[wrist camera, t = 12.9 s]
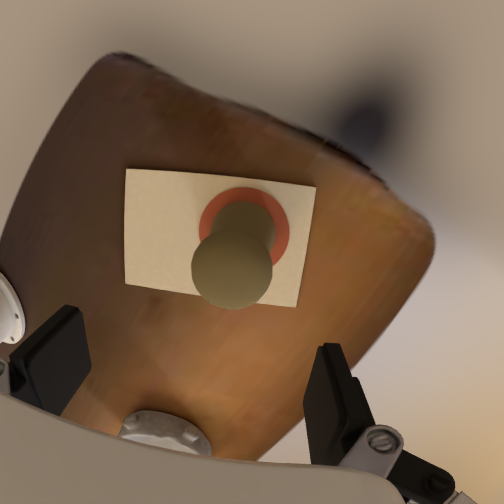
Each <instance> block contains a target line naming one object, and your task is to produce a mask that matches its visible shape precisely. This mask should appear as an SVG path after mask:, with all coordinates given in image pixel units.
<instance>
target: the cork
mask: <svg viewBox="0 0 504 504" xmlns="http://www.w3.org/2000/svg"><path fill="white" fill-rule="evenodd" d="M275 239H276V228H275V225H274V221H273V219H272V217H271V216H270V215H269V213H268V212H267V211H266V210H265V209H264V208H262V207H261V206H260V205H258V204H255V203H252V202H249V201H237V202H233V203H230V204H228V205H226V206H225V207H223V208H222V209H221V210H219V212H218V213H217V215H216V216H215V217H214V219H213V222H212V226H211V229H210V234H209V236H207V237H206V238H205V239H203V240H202V242H201V243H200V244H199V246H198V247H197V249H196V250H195V251H194V254H193V258H192V262H191V274H192V280H193V283H194V285H195V288H196V290H197V291H198V292H199V293H200V295H201V296H202V297H203V298H204V299H205V300H207V301H208V302H210V303H211V304H213V305H214V306H217V307H221V308H224V309H241V308H245V307H249V306H250V305H252V304H254V303H255V302H257V301H259V299H260V298H261V297H262V296H263V295H264V294H265V292H266V291H267V290H268V288H269V285H270V283H271V280H272V273H273V263H272V259H271V256H270V252H271V250H272V247H273V245H274V242H275Z"/></svg>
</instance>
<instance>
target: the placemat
mask: <svg viewBox="0 0 504 504" xmlns="http://www.w3.org/2000/svg"><path fill="white" fill-rule="evenodd" d="M315 193H316V187H310V186H304V185H297V184H290V183H282V182H275V181H267V180H259V179H250V178H241V177H232V176H222V175H212V174H201V173H189V172H176V171H161V170H145V169H126V185H125V218H124V249H125V282H126V284H132V285H138V286H144V287H150V288H156V289H162V290H168V291H175V292H181V293H188V294H195V295H200V293H199V292H198V291H197V290H196V288H195V285H194V283H193V280H192V274H191V262H192V258H193V254H194V251H195V250H196V249H197V247H198V246H199V244H200V243H201V242H202V240H203V239H205V238H206V237H207V236H209V234H210V229H211V226H212V222H213V219H214V217H215V216H216V215H217V213H218V212H219V210H221V209H222V208H223V207H225V206H226V205H228V204H230V203H233V202H237V201H249V202H252V203H255V204H258V205H260V206H261V207H262V208H264V209H265V210H266V211H267V212H268V213H269V215H270V216H271V217H272V219H273V221H274V225H275V228H276V239H275V242H274V245H273V247H272V250H271V252H270V256H271V259H272V263H273V273H272V280H271V283H270V285H269V288H268V290H267V291H266V292H265V294H264V295H263V296H262V297H261V298H260V299H259V301H257V302H255V303H262V304H271V305H279V306H288V307H296V304H297V299H298V293H299V288H300V283H301V277H302V272H303V266H304V261H305V255H306V249H307V243H308V237H309V231H310V225H311V219H312V213H313V206H314V200H315Z"/></svg>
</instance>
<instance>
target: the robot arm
mask: <svg viewBox="0 0 504 504" xmlns="http://www.w3.org/2000/svg"><path fill="white" fill-rule="evenodd" d="M24 332H25V318H24V313H23V310H22V306H21V304H20V301H19V299H18V296H17V295H16V293H15V291H14V289H13V287H12V286H11V284H10V283H9V281H8V280H7V279H6V278H5V276H4V275H3V274H2V273H1V272H0V343H1V342H2V341H4V342H6V343H11V344H13V343H16V342H18V341H19V340H20V339H21V338H22V337H23V335H24ZM9 357H10V360H11V361H10V362H9V363H8V362H7V361H6V360H4V359H3V358H0V504H477V503H476V502H475V501H473V500H472V499H471V498H470V497H468V496H467V495H466V494H465V493H464V492H462V491H461V492H460V493H458V492H456V491H455V481H454V479H453V477H452V476H451V475H450V474H449V473H448V472H447V471H445V470H443V469H441V468H439V467H437V466H435V465H433V464H430V463H429V462H427V461H425V460H423V459H421V458H419V457H417V456H415V455H412V454H411V453H409V452H407V451H405V450H403V445H404V442H403V438H402V436H401V434H400V433H399V432H398V431H397V430H395V429H394V428H392V427H389V426H387V425H376V424H375V421H374V418H373V416H372V413H371V411H370V408H369V405H368V402H367V400H366V397H365V394H364V392H363V389H362V387H361V384H360V381H359V380H358V378H357V377H352V375H351V372H350V370H349V367H348V364H347V361H346V359H345V356H344V354H343V351H342V348H341V346H340V344H339V343H324V345H323V346H319V347H318V349H317V353H316V357H315V360H314V364H313V368H312V371H311V375H310V378H309V381H308V385H307V388H306V392H305V395H304V399H303V408H304V415H305V422H306V429H307V436H308V443H309V451H310V459H311V464H291V463H270V462H258V461H247V460H236V459H227V458H219V457H212V456H205V455H199V454H193V453H187V452H182V451H176V450H171V449H166V448H162V447H157V446H153V445H148V444H144V443H140V442H136V441H132V440H129V439H125V438H121V437H118V436H115V435H111V434H108V433H105V432H101V431H98V430H95V429H92V428H89V427H86V426H83V425H80V424H78V423H75V422H72V421H69V420H67V419H64V418H61V417H59V416H60V415H61V413H62V412H63V410H64V409H65V407H66V406H67V404H68V403H69V401H70V400H71V398H72V397H73V395H74V394H75V392H76V391H77V390H78V388H79V387H80V385H81V384H82V382H83V381H84V379H85V378H86V377H87V375H88V374H89V372H90V370H91V359H90V355H89V349H88V344H87V339H86V333H85V327H84V320H83V314H82V312H81V311H80V310H79V308H78V307H74V306H70V305H64V306H63V307H62V308H60V309H59V310H58V311H57V312H56V313H55V314H54V315H52V316H51V317H50V318H49V319H48V320H47V321H46V322H45V323H43V324H42V325H41V326H40V327H39V328H38V329H37V330H36V331H35V332H34V333H33V334H31V335H30V336H29V337H28V338H27V339H26V340H25V341H24V342H23V343H22V344H21V345H20V346H19V347H18V348H17V349H16V350H14V351H13V352H12V353H11V354H10V355H9Z"/></svg>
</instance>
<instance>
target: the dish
mask: <svg viewBox="0 0 504 504" xmlns="http://www.w3.org/2000/svg"><path fill="white" fill-rule="evenodd" d="M118 437H121V438H125V439H129V440H132V441H136V442H140V443H144V444H148V445H153V446H157V447H162V448H166V449H171V450H176V451H182V452H187V453H193V454H199V455H205V456H212V451H211V446H210V443H209V441H208V439H207V438H206V436H205V435H204V434H203V433H202V432H201V431H200V430H199V429H198V428H197V427H196V426H194V425H193V424H191V423H190V422H188V421H186V420H184V419H181V418H179V417H176V416H173V415H170V414H166V413H162V412H157V411H150V410H144V411H137V412H135V413H133V414H130V415H128V416H127V417H126V418H125V420H124V424H123V425H122V427H121V430H120V432H119V435H118Z"/></svg>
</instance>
